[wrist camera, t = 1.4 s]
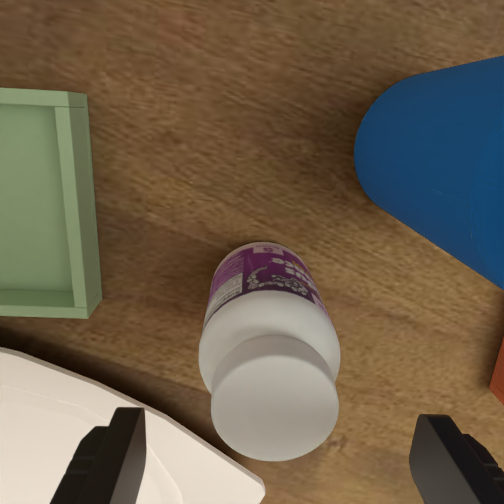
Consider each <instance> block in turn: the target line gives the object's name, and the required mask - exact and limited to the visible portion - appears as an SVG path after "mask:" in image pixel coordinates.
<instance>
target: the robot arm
mask: <svg viewBox="0 0 504 504" xmlns="http://www.w3.org/2000/svg"><path fill="white" fill-rule="evenodd" d="M146 453H147V447H146V424H145V409H144V408H143V407H117V408H116V410H115V412H114V414H113V416H112V419H111V421H110V423H109V426H95V427H94V428H93V429H92V430H91V431H90V432H89V433H88V434H87V435H86V436H85V437H83V438H82V439H81V441H80V443H79V445H78V447H77V449H76V451H75V453H74V455H73V458H72V460H71V461H70V463H69V465H68V467H67V469H66V473H65V474H64V475H63V477H62V479H61V481H60V483H59V485H58V487H57V489H56V491H55V493H54V496H53V498H52V500H51V502H50V504H136V500H137V497H138V493H139V489H140V486H141V482H142V478H143V474H144V470H145V464H146ZM409 464H410V470H411V474H412V477H413V480H414V482H415V484H416V486H417V488H418V490H419V492H420V494H421V496H422V498H423V501H424V503H425V504H504V472H503V471H502V469H501V468H499V467H498V464H497V463H496V461H495V460H494V458H493V457H492V456H491V454H490V453H489V452H488V450H487V449H486V448H485V447H484V446H483V445H481V444H480V443H479V442H478V441H476V440H475V439H474V438H473V437H471V436H470V435H469V434H462V433H461V432H460V430H459V429H458V427H457V426H456V424H455V423H454V422H453V420H452V419H451V418H450V417H449V416H448V415H439V414H421V415H419V417H418V419H417V423H416V427H415V432H414V437H413V441H412V446H411V450H410V455H409Z"/></svg>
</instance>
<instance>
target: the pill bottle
mask: <svg viewBox="0 0 504 504" xmlns="http://www.w3.org/2000/svg"><path fill="white" fill-rule="evenodd" d="M199 367H200V372H201V376H202V379H203V381H204V383H205V385H206V387H207V389H208V391H209V392H210V394H211V395H212V397H211V416H212V421H213V424H214V427H215V429H216V431H217V433H218V434H219V436H220V437H221V438H222V440H223V441H224V442H225V443H226V444H227V445H228V446H230V447H231V448H232V449H234V450H235V451H236V452H238V453H240V454H242V455H244V456H247V457H250V458H253V459H257V460H262V461H285V460H290V459H294V458H297V457H300V456H302V455H305V454H307V453H309V452H311V451H312V450H314V449H315V448H317V447H318V446H319V445H320V444H321V443H323V442H324V441H325V440H326V438H327V437H328V436H329V435H330V434H331V432H332V430H333V428H334V426H335V424H336V421H337V418H338V412H339V401H338V395H337V391H336V387H335V384H334V383H335V380H336V378H337V375H338V371H339V367H340V346H339V341H338V338H337V334H336V332H335V329H334V326H333V324H332V322H331V319H330V317H329V315H328V313H327V311H326V308H325V306H324V303H323V301H322V299H321V297H320V294H319V292H318V290H317V287H316V285H315V284H314V281H313V278H312V276H311V274H310V272H309V270H308V268H307V267H306V265H305V264H304V262H303V261H302V259H301V258H300V257H299V256H298V255H297V254H295V253H294V252H293V251H292V250H290V249H288V248H286V247H284V246H282V245H279V244H276V243H270V242H255V243H250V244H246V245H244V246H241V247H239V248H237V249H235V250H234V251H232V252H231V253H229V254H228V255H227V256H226V257H225V258H224V259H223V260H222V262H221V263H220V264H219V266H218V268H217V269H216V271H215V274H214V277H213V280H212V284H211V289H210V295H209V300H208V305H207V310H206V315H205V321H204V326H203V331H202V335H201V340H200V344H199Z"/></svg>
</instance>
